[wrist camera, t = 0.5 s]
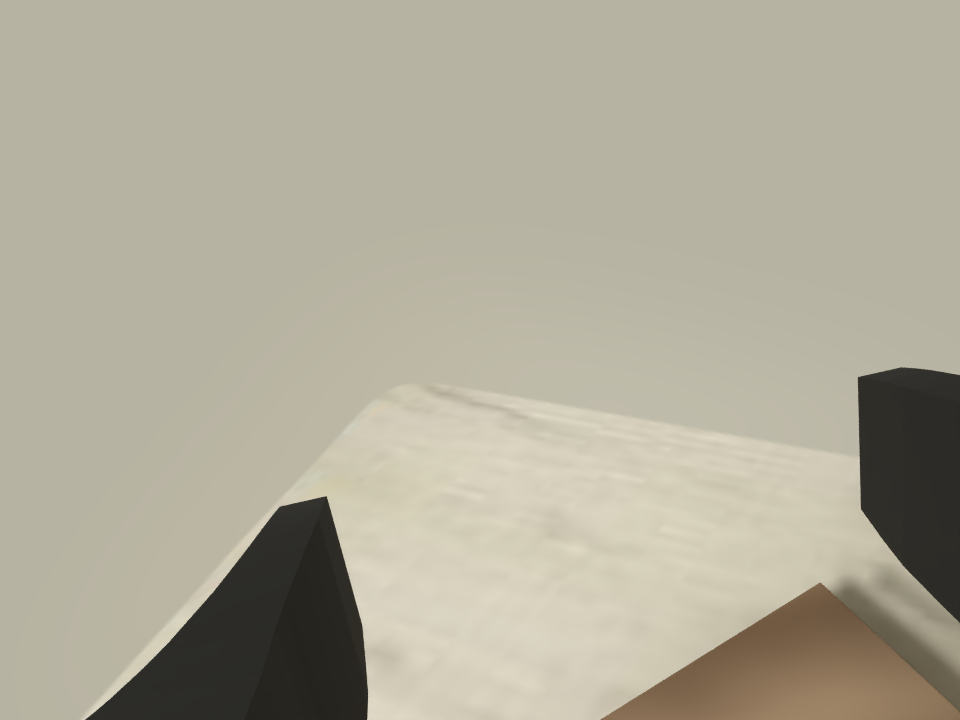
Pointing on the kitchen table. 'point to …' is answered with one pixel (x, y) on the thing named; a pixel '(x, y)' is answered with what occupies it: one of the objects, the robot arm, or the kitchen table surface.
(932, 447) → the robot arm
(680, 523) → the kitchen table surface
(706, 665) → the walnut base
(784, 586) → the kitchen table surface
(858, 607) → the kitchen table surface
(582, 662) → the kitchen table surface
